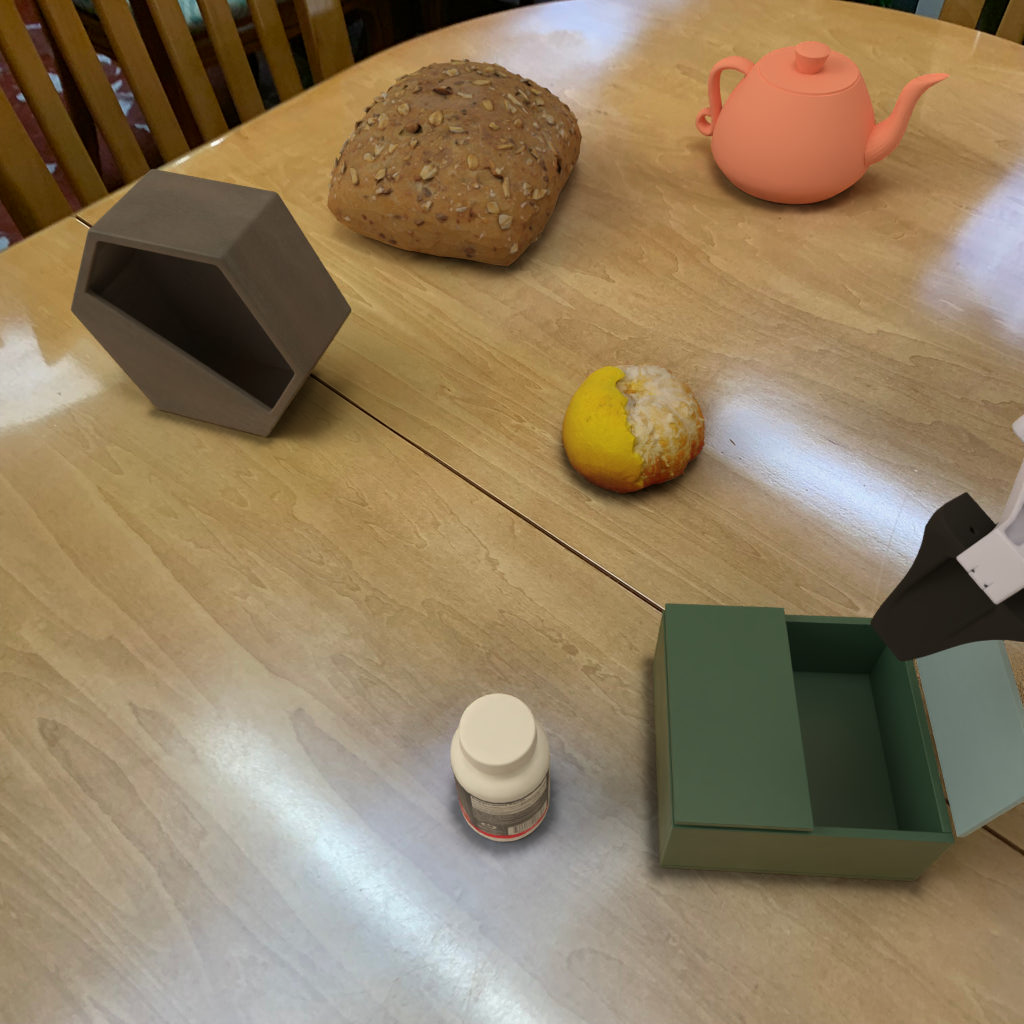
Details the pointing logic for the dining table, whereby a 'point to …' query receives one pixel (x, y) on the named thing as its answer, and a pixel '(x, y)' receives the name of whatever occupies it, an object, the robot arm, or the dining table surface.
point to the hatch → (976, 730)
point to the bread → (456, 163)
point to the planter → (208, 298)
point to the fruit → (632, 427)
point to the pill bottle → (501, 767)
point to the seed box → (791, 747)
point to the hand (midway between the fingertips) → (936, 607)
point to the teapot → (801, 123)
